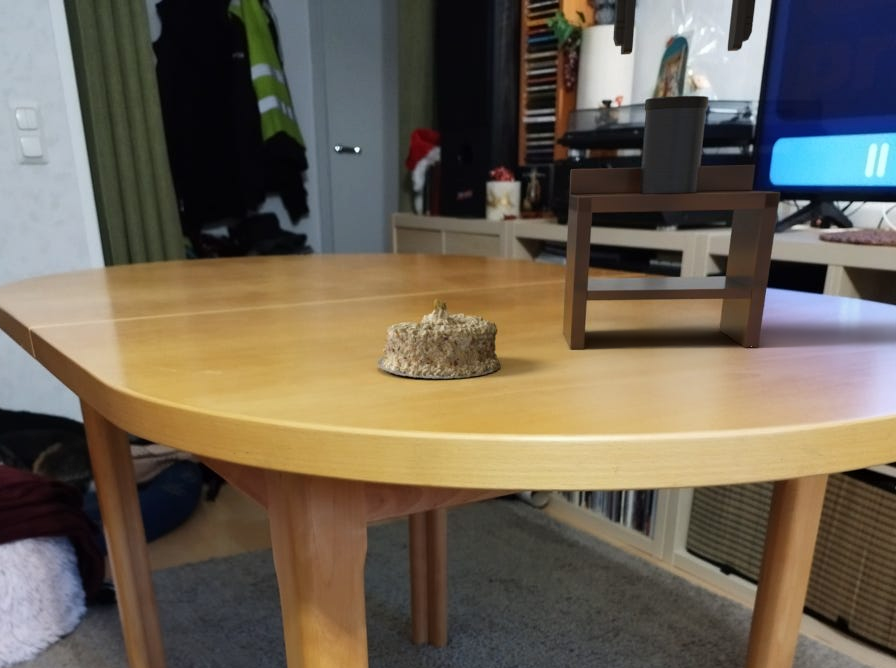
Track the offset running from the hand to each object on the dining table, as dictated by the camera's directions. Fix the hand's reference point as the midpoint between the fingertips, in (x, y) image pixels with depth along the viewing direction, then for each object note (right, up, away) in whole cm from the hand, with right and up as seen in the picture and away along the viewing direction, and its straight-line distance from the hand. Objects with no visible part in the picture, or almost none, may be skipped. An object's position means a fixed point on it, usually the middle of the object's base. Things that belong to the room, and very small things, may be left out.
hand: (680, 51), depth 74 cm
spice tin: (0, -9, +5) cm, 10 cm away
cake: (-19, -26, 0) cm, 32 cm away
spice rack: (+1, -20, +10) cm, 22 cm away
